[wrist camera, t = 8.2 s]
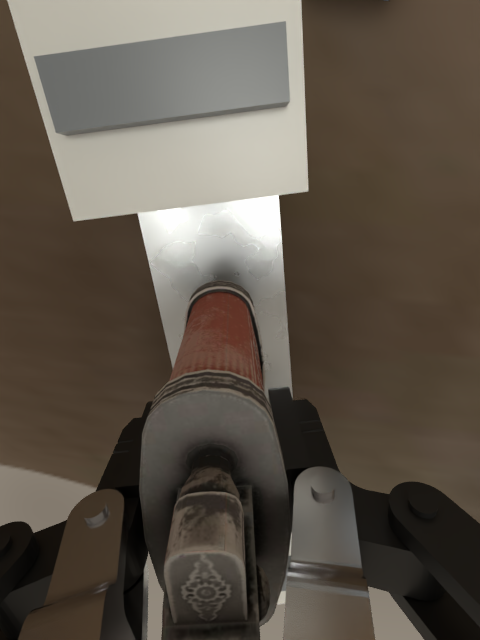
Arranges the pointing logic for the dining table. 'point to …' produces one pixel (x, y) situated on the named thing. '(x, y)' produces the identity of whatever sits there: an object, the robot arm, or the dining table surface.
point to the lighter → (216, 477)
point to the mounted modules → (168, 101)
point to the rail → (222, 268)
